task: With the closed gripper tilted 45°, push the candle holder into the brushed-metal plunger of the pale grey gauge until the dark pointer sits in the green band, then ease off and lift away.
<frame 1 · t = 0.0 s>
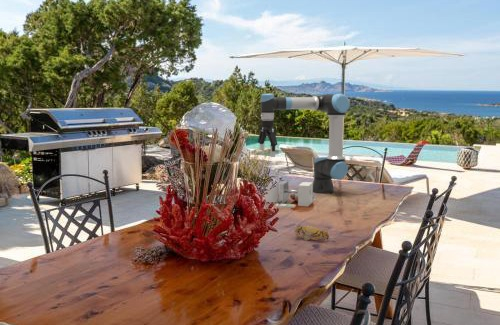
hand: (267, 155, 277), 28 cm above the table, tool pointing down, fingers open, 13 cm apart
crab model: (312, 238, 207), on the table
candle holder: (271, 201, 282), on the table
gauge housing: (282, 202, 279), on the table
gauge plunger: (289, 193, 274), point 6 cm above the table, slide at 0.0 cm
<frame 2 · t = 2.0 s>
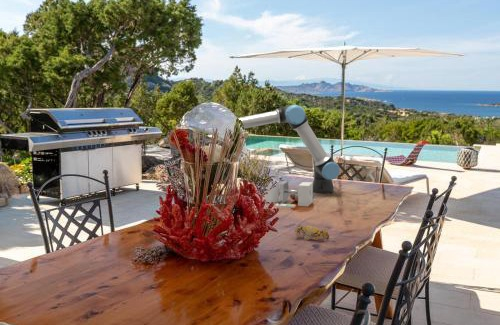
hand: (256, 176, 283), 15 cm above the table, tool tilted 45°, fingers closed
nothing on the table moved.
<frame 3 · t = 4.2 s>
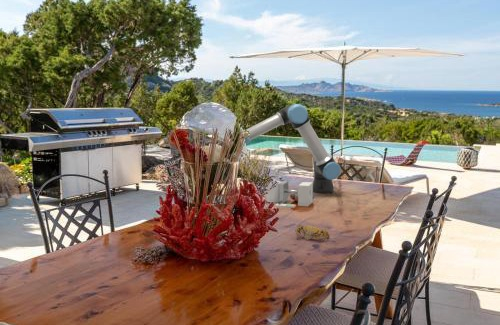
hand: (264, 193, 282), 5 cm above the table, tool tilted 45°, fingers closed
candle holder: (273, 201, 281), on the table, touching gripper
everything else where it was.
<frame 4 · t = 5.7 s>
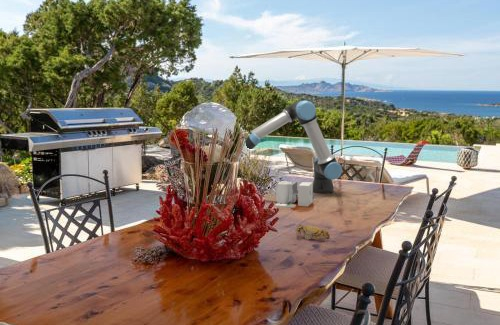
hand: (274, 193, 280), 5 cm above the table, tool tilted 45°, fingers closed
candle holder: (283, 202, 279), on the table, touching gauge plunger, gripper
gauge plunger: (298, 193, 272), point 6 cm above the table, slide at 5.5 cm, touching candle holder
everything else where it was.
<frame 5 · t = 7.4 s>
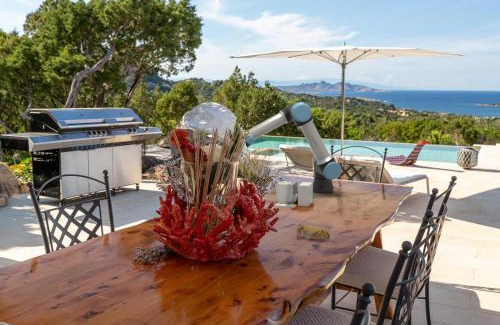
hand: (269, 192, 281), 5 cm above the table, tool tilted 45°, fingers closed
candle holder: (283, 202, 279), on the table
gauge plunger: (298, 194, 272), point 6 cm above the table, slide at 5.6 cm
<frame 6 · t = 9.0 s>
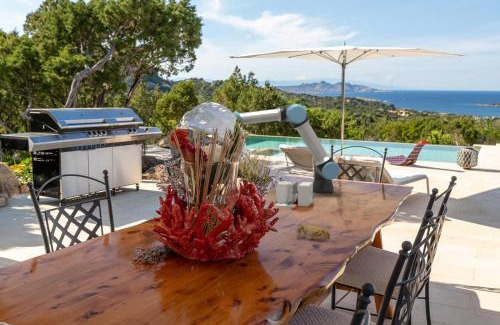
hand: (257, 171, 282), 18 cm above the table, tool tilted 45°, fingers closed
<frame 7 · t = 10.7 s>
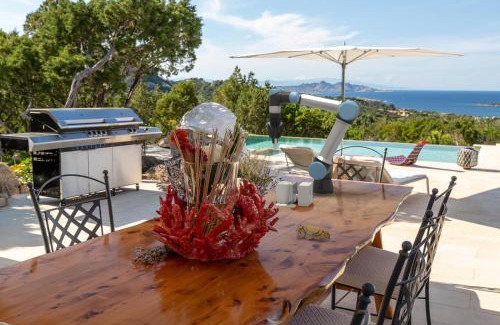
hand: (274, 148, 308), 29 cm above the table, tool pointing down, fingers closed
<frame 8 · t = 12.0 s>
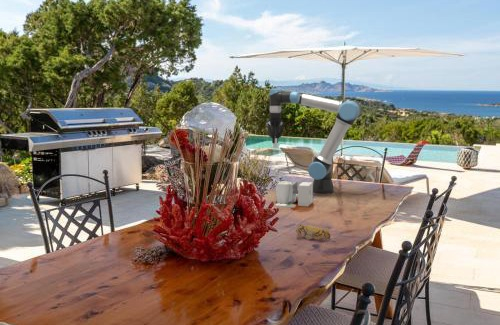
hand: (275, 148, 308), 29 cm above the table, tool pointing down, fingers closed
at the end: gauge plunger slide at 5.6 cm; candle holder tilted 0°; the gripper is holding nothing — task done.
